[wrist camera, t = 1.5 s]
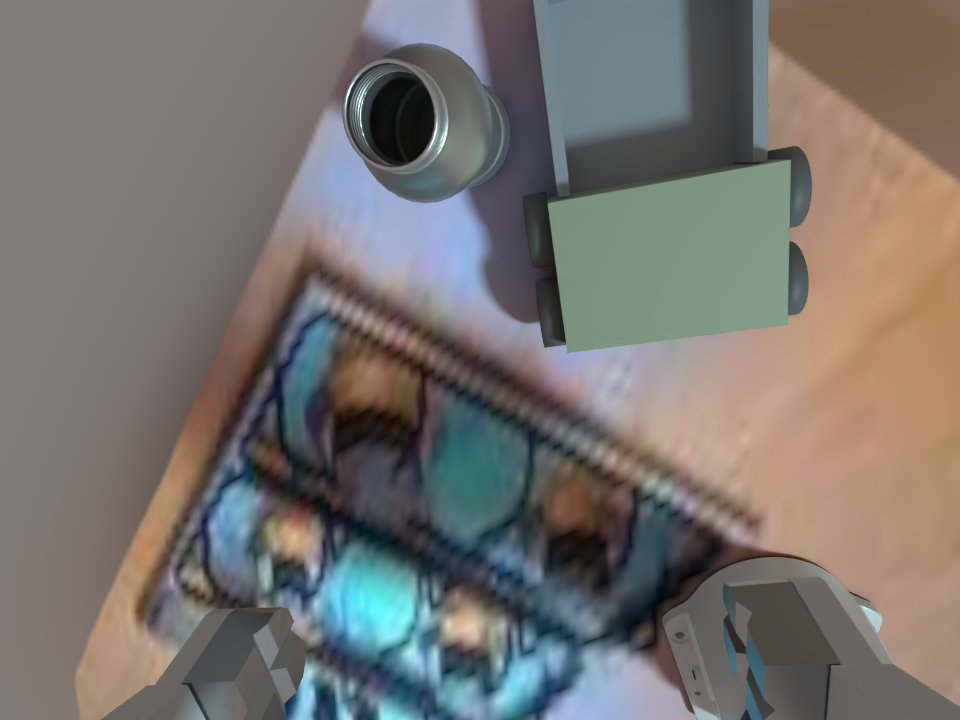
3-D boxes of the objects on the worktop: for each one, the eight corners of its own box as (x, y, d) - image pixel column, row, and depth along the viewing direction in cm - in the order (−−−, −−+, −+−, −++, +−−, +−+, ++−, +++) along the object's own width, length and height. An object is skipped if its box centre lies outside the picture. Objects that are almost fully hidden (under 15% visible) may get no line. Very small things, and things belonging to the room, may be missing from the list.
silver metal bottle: (514, 83, 35) (480, 1, 17) (511, 188, 38) (478, 216, 19) (421, 83, 36) (292, 5, 18) (424, 186, 39) (312, 211, 20)
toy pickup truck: (775, 303, 39) (814, 328, 33) (545, 335, 42) (545, 362, 36) (780, -64, 31) (831, -112, 25) (497, 7, 34) (487, -22, 28)
